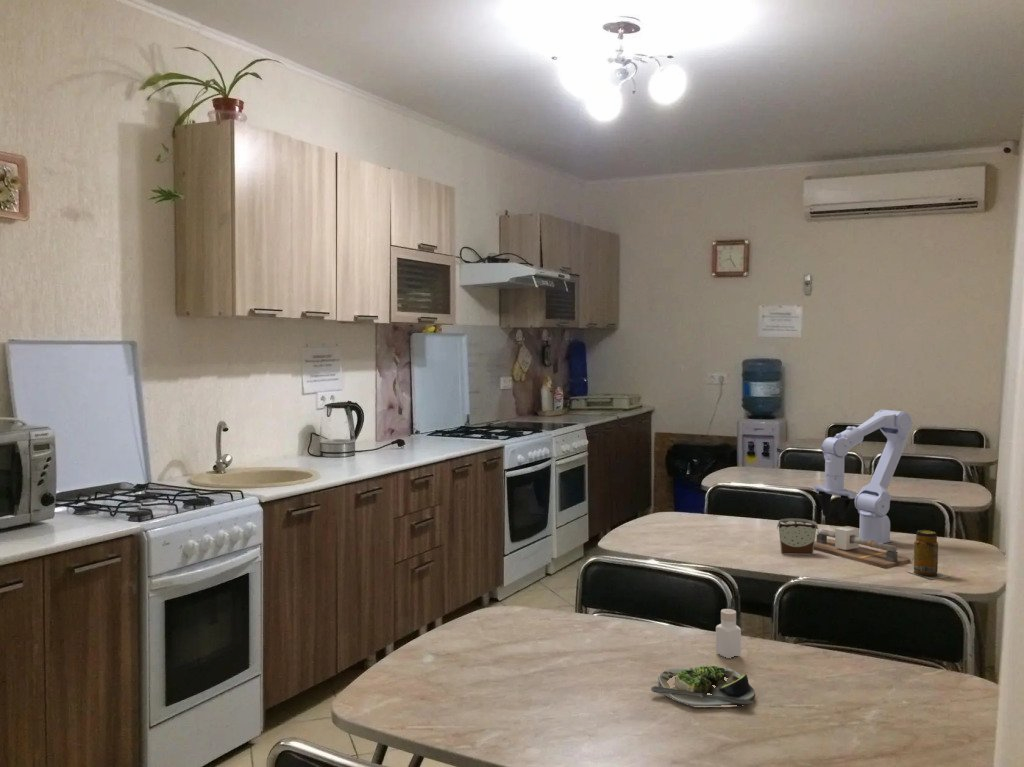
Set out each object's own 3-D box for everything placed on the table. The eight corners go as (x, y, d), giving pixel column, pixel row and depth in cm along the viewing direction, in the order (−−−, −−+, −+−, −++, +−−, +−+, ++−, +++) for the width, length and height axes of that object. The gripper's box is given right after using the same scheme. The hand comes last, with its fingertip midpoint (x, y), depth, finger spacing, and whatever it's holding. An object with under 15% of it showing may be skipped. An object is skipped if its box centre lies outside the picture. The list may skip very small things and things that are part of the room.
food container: (813, 549, 260) (813, 518, 259) (818, 554, 254) (818, 522, 253) (772, 549, 261) (773, 517, 261) (776, 553, 255) (777, 522, 255)
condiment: (925, 569, 237) (926, 528, 237) (950, 577, 229) (951, 534, 229) (905, 571, 235) (906, 530, 234) (930, 580, 227) (931, 537, 226)
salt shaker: (727, 660, 172) (727, 615, 171) (714, 653, 175) (714, 610, 175) (742, 656, 174) (742, 612, 173) (728, 650, 177) (729, 607, 177)
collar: (847, 544, 260) (848, 525, 259) (858, 547, 256) (859, 528, 256) (835, 547, 257) (835, 528, 256) (846, 550, 253) (846, 530, 253)
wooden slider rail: (828, 541, 269) (829, 525, 269) (910, 562, 244) (910, 544, 244) (803, 546, 263) (804, 529, 263) (884, 568, 238) (885, 549, 238)
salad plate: (663, 718, 147) (663, 692, 146) (638, 677, 164) (638, 654, 164) (767, 712, 149) (768, 687, 148) (731, 672, 166) (732, 650, 166)
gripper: (807, 473, 267) (807, 514, 267) (845, 479, 254) (845, 523, 255) (822, 471, 270) (821, 512, 271) (860, 477, 258) (859, 520, 259)
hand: (833, 517), depth 263 cm, fingers open, 5 cm apart
